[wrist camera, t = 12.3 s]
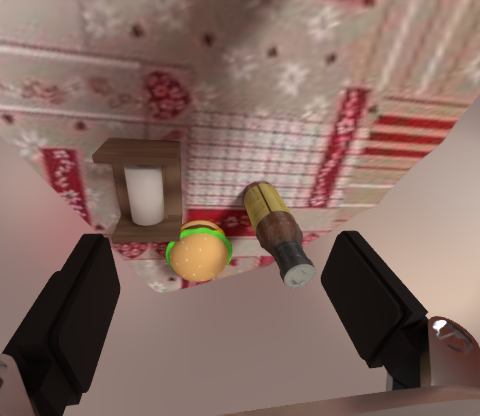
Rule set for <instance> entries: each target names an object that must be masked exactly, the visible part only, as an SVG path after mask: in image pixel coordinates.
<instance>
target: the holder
mask: <svg viewBox="0 0 480 416" xmlns="http://www.w3.org/2000/svg"><path fill="white" fill-rule="evenodd" d="M92 157H93V161H94V163H106V164H112V167H113V172H114V178H115V183H116V188H117V193H118V198H119V203H120V208H121V214H122V216H121V218H120V220H119V222H118V225H117V227H116V229H115V231H114V233H113V236H112V242H113V243H130V242H180V235H181V224H182V195H181V165H180V142H177V141H158V140H139V139H120V138H109V139H108V140H107V141H106V142H105V143H104V144H103V145H102V146H101V147H100V148H99V149H98V150H97V151H96V152H95V153H94V154H93V155H92ZM124 164H135V165H161V169H162V183H163V197H164V210H165V218H164V219H163V220H162V221H161V222H159V223H157V224H154V225H149V226H143V225H138V224H136V223H134V222H133V220H132V215H131V209H130V202H129V196H128V190H127V184H126V177H125V171H124Z"/></svg>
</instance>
